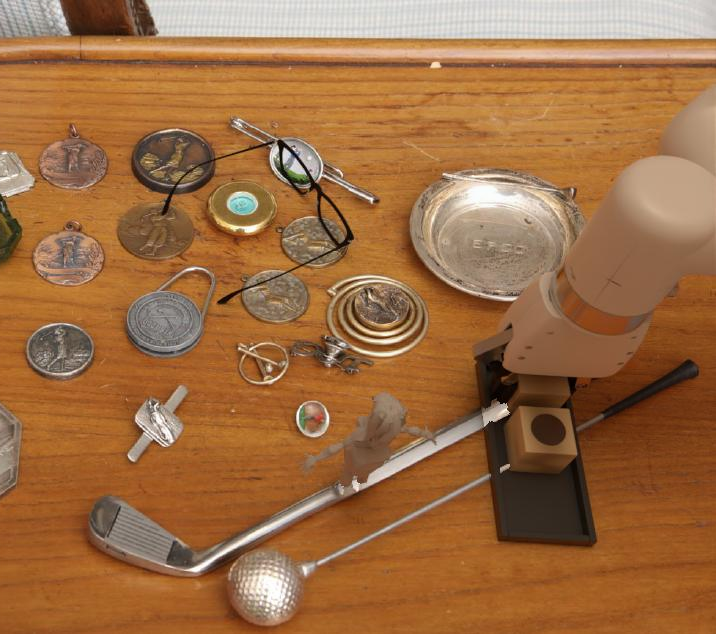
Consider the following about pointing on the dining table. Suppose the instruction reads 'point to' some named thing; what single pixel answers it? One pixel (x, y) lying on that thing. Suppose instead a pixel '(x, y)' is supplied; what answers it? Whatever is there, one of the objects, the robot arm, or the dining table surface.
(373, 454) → the human figurine
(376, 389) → the dining table surface
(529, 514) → the letter tray
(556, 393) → the letter I
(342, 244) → the eyeglasses
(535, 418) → the wooden block with dot
